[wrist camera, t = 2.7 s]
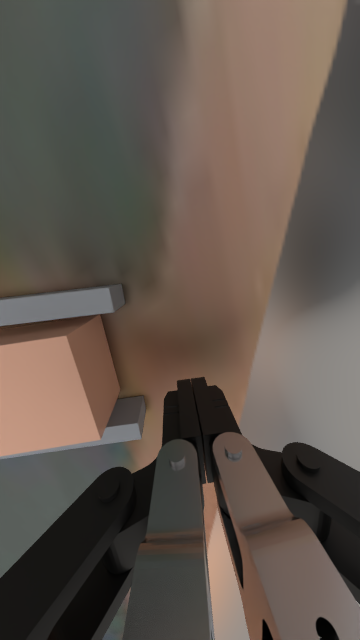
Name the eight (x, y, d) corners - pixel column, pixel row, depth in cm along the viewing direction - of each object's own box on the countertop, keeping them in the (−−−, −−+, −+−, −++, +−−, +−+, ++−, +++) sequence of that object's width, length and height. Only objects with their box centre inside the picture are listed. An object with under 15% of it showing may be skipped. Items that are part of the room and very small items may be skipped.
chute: (-87, 308, 13) (-160, 318, 10) (121, 283, 13) (108, 287, 11) (-22, 432, 16) (-64, 468, 13) (145, 409, 17) (141, 439, 14)
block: (-2, 328, 14) (-92, 359, 9) (100, 313, 14) (66, 335, 9) (30, 403, 16) (-30, 461, 11) (121, 389, 16) (100, 439, 11)
